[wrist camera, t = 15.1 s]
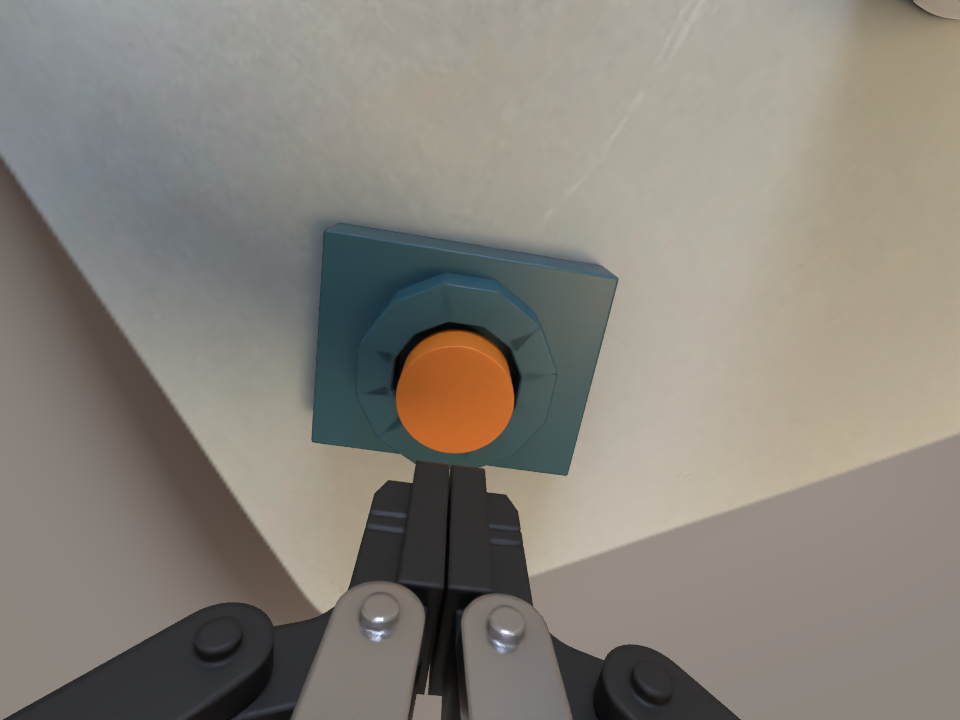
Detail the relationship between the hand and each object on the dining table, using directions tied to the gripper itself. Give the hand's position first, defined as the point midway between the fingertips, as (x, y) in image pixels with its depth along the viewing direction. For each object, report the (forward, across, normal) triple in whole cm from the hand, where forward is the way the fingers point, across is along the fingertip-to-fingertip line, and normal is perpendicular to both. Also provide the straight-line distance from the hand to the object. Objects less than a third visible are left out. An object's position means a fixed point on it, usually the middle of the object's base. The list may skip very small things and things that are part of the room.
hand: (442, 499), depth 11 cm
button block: (+10, 0, 0) cm, 10 cm away
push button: (+6, 0, 0) cm, 6 cm away
